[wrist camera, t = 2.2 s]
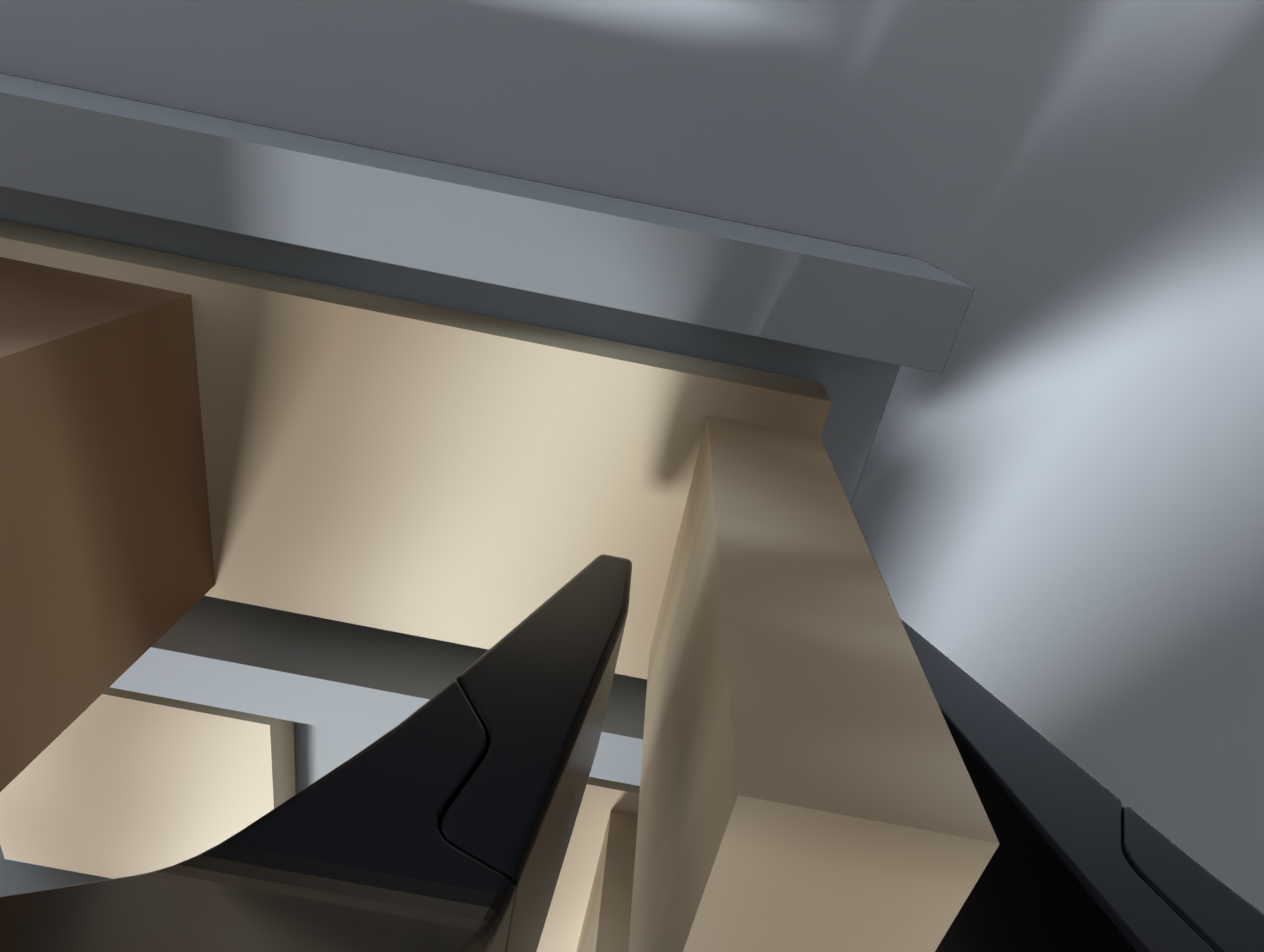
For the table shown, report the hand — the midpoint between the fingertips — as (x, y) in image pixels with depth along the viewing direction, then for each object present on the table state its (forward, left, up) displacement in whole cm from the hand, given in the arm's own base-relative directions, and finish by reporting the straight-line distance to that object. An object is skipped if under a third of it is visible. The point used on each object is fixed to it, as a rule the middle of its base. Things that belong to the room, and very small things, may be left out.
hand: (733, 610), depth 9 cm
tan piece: (+6, 0, -3) cm, 6 cm away
